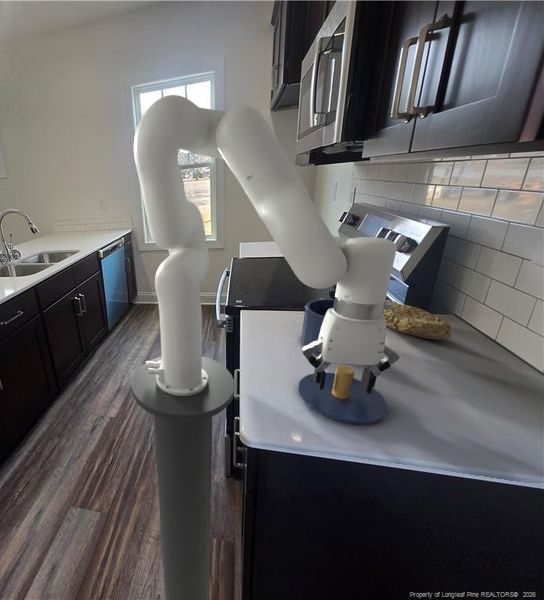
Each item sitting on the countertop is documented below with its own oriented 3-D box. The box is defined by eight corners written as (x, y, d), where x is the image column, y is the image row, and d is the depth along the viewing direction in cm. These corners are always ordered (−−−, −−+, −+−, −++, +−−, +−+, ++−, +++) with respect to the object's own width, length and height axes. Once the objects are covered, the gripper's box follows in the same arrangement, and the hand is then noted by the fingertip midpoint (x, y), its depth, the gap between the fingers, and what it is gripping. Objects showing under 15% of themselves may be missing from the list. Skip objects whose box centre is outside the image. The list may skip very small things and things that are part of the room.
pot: (311, 363, 77) (317, 324, 73) (294, 327, 95) (298, 295, 91) (379, 368, 74) (389, 327, 70) (348, 329, 92) (355, 296, 88)
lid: (307, 421, 60) (312, 390, 57) (291, 374, 74) (294, 347, 71) (403, 431, 56) (413, 398, 53) (367, 379, 70) (373, 351, 68)
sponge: (359, 319, 100) (401, 337, 81) (366, 295, 99) (410, 307, 79) (404, 327, 99) (457, 346, 79) (411, 302, 97) (467, 316, 78)
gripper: (402, 300, 59) (382, 379, 65) (301, 298, 63) (291, 373, 69) (425, 316, 52) (401, 403, 58) (310, 313, 56) (299, 394, 62)
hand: (342, 386), depth 64 cm, fingers open, 7 cm apart
